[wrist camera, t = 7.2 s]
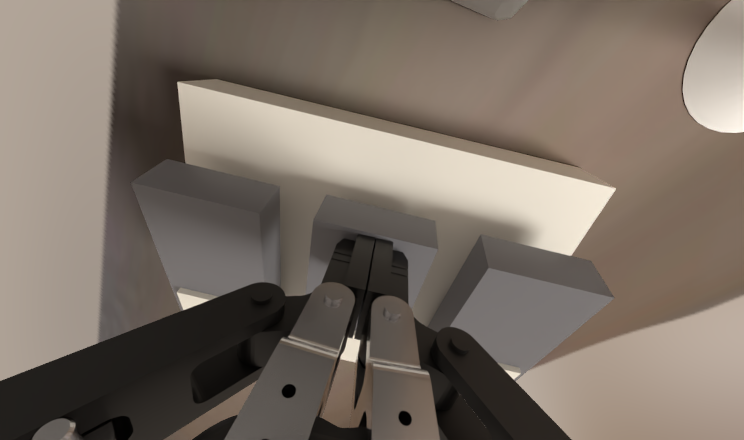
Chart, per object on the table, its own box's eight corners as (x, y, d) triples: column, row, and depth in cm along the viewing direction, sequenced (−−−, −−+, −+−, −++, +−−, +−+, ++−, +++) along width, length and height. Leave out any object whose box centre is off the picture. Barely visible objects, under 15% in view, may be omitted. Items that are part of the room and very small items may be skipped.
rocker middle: (326, 194, 13) (311, 223, 11) (435, 220, 13) (438, 254, 11) (310, 317, 18) (298, 352, 16) (389, 336, 18) (385, 372, 16)
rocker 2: (480, 234, 13) (490, 273, 11) (591, 260, 13) (618, 304, 11) (420, 338, 18) (420, 376, 17) (497, 356, 18) (505, 396, 17)
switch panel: (216, 79, 15) (165, 82, 12) (580, 168, 16) (626, 194, 12) (225, 288, 23) (194, 326, 19) (474, 348, 23) (486, 394, 20)
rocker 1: (166, 158, 13) (124, 186, 11) (279, 186, 13) (255, 218, 11) (203, 286, 18) (179, 319, 16) (281, 305, 18) (265, 339, 16)
